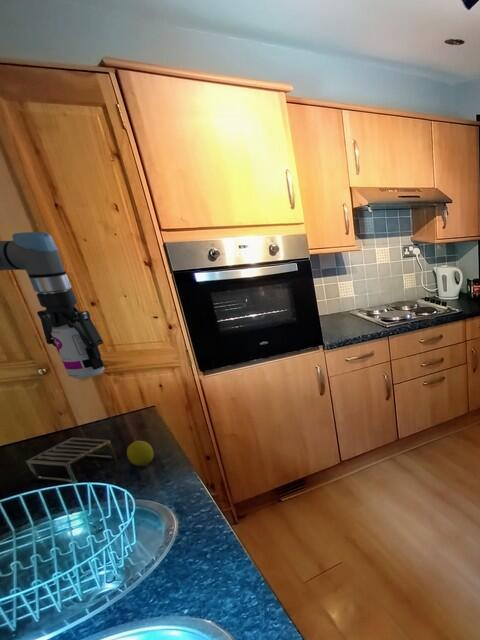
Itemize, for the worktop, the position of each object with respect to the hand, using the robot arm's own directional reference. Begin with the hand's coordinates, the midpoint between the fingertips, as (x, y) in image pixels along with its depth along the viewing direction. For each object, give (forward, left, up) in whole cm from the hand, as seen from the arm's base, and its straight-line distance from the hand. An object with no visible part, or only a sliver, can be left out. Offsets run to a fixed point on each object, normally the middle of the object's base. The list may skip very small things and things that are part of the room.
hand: (85, 367), depth 134 cm
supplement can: (0, 0, -2) cm, 2 cm away
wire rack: (+12, -21, -22) cm, 33 cm away
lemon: (+27, -16, -22) cm, 38 cm away
